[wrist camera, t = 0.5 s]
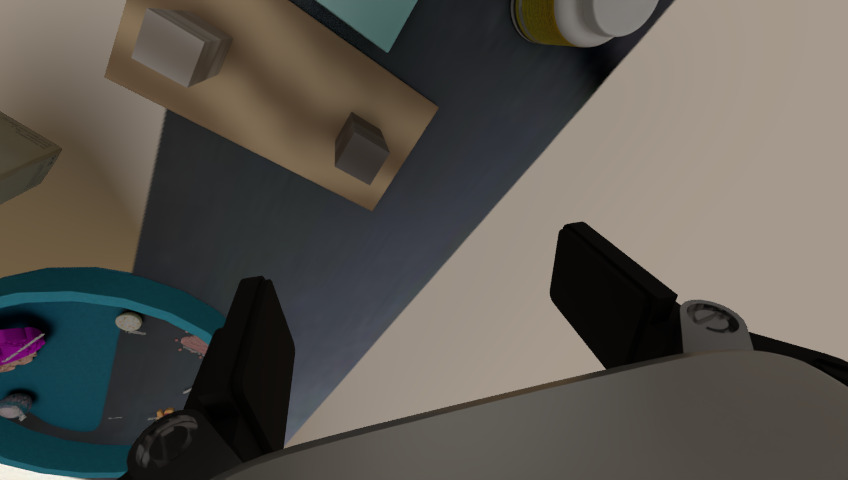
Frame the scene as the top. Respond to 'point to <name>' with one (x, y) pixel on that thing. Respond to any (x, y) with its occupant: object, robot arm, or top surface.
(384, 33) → the teal rectangular block
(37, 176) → the skincare box
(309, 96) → the post board
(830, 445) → the robot arm
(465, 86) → the top surface
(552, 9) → the pill bottle
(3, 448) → the teal round ring
